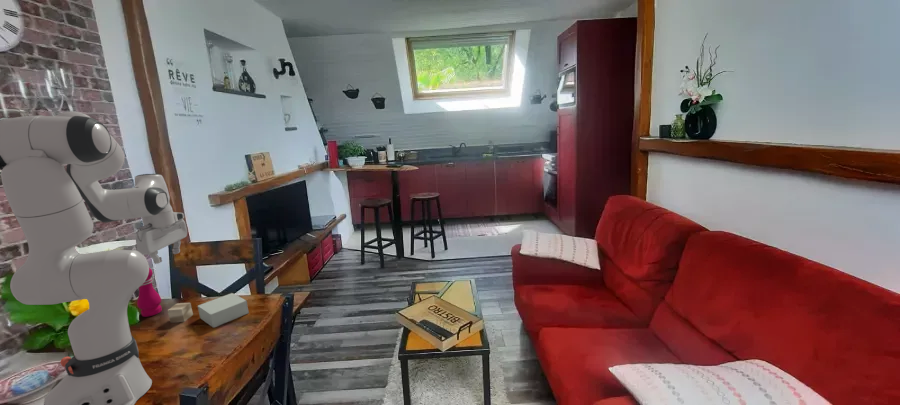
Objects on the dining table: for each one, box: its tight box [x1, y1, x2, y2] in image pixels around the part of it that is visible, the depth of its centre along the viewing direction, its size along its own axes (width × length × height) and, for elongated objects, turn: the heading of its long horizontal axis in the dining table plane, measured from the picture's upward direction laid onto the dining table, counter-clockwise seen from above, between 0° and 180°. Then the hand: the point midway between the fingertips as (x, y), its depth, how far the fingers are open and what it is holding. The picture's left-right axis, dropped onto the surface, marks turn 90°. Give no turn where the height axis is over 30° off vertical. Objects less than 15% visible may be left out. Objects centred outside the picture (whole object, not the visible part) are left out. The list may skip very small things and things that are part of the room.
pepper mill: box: [136, 267, 163, 318], centre depth 145 cm, size 7×7×20 cm
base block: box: [197, 292, 250, 329], centre depth 141 cm, size 12×12×5 cm
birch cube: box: [167, 302, 194, 323], centre depth 141 cm, size 5×5×5 cm
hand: (167, 257), depth 136 cm, fingers open, 8 cm apart
